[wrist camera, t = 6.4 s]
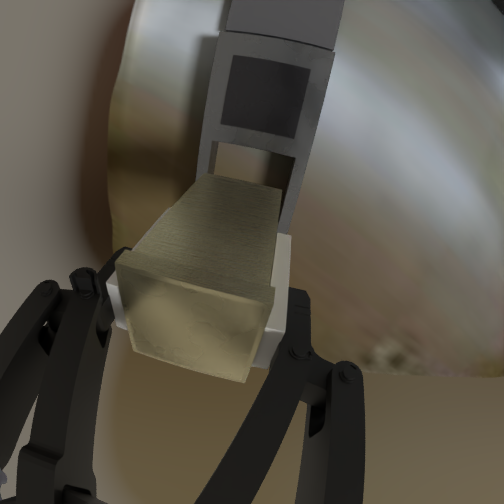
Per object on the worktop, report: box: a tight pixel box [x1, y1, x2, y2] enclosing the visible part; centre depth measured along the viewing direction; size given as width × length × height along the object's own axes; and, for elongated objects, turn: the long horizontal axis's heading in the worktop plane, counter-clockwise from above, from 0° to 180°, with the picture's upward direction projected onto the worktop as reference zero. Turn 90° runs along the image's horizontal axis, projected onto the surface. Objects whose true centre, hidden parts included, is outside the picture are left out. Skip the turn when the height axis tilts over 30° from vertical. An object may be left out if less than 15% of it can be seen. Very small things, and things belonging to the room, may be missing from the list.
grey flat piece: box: [195, 31, 335, 236], centre depth 22 cm, size 20×9×3 cm, turn 169°
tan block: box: [115, 173, 282, 383], centre depth 14 cm, size 5×5×10 cm
